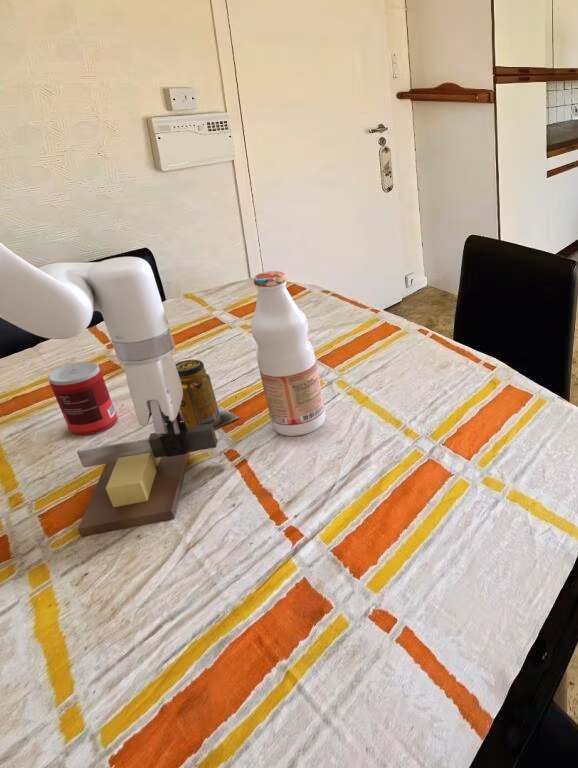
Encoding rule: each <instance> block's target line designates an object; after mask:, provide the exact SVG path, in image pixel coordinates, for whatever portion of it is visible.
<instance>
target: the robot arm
mask: <svg viewBox="0 0 578 768" xmlns="http://www.w3.org/2000/svg"><path fill="white" fill-rule="evenodd" d="M94 312H99V313H100V314H101V316H102V318H103V321H104V324H105V327H106V329H107V332H108V333H107V334H108V335H109V338H110V341H111V344H112V347H113V350H114V352H115V356H116V358H117V360H118V362H120V363H121V364H123V365H124V366H123V367H124V372H125V378H126V382H127V387H128V391H129V395H130V397H131V401H132V405H133V407H134V411H135V414H136V418H137V421H138V423H139V425H140V426H142V427H145V426H147V425H148V424H149V422H150V420H151V418H152V423H153V428H154V433H156V435H159V437H160V440H161V443H162V446H163V449H164V452H165V455H166V456H167V457H171V456H177V455H182V454H187V453H188V447H187V444H186V440H185V437H184V434H183V431H182V430H181V431H180V430H179V429H181V428H187V427H186V424H185V421H183V414H182V411H181V408H180V405H181V401H182V398H183V389H182V384H181V381H180V377H179V374H178V371H177V368H176V365H175V364H176V362H175V360H174V357H173V353H175V351H176V344H175V341H174V337H173V333H172V330H171V328H170V324H169V321H168V318H167V315H166V311H165V309H164V303H163V302H162V297H161V295H160V291H159V288H158V285H157V282H156V278H155V275H154V272H153V269H152V266H151V265H150V263H149V262H148V261H147V260H146V259H143V258H141V257H137V256H119V257H112V258H108V259H104V260H101V261H96V262H95V261H92V262H91V261H89V262H53V263H48V264H44V265H42V266H40V267H36V266H35V265H33V264H31V263H30V262H28V261H27V260H25V259H23V258H22V257H21V256H19V255H17V254H16V253H15V252H13V251H12V250H10V249H9V248H8V247H6V246H5V245H4V244H3V243H2V242H0V318H1V319H2V320H4V321H6V322H8V323H10V324H12V325H14V326H16V327H17V328H19V329H21V330H23V331H25V332H28V333H30V334H32V335H35V336H38V337H42V338H43V339H44V338H45V339H49V340H67V339H72V338H74V337H76V336H78V335H81V334H82V333H83V332H84V331H85V330H86V329H87V328H88V327H89V325H90V324H91V321H92V319H93V315H94Z"/></svg>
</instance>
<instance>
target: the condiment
mask: <svg viewBox="0 0 578 768" xmlns="http://www.w3.org/2000/svg"><path fill="white" fill-rule="evenodd" d="M175 365H176V368H177V371H178V374H179V377H180V381H181V384H182V389H183V398H182V401H181V405H180V408H181V411H182V414H183V421H182V422H184V421H185V424H186V427H193V426H199V425H205V424H213V427H214V430H217V429H218V428H221V427H222V426H225V425H227V424H229V423H231V422H234V421H235V420H237V419H240V418H241V417H240V416H239V415H236V414H234V413H233V412H231V411H229V410H228V409H227V408H224V407H223V406H221V405H218V402H217V399H216V395H215V391H214V389H213V384H212V381H211V377H210V375H209V374H208V373H207V370H206V368H205V365H204V362H202V361H201V360H199V359H186V360H182V361H179V362H175Z"/></svg>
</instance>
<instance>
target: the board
mask: <svg viewBox="0 0 578 768" xmlns="http://www.w3.org/2000/svg"><path fill="white" fill-rule="evenodd" d="M190 455H191V452H188V453H187V454H182V455H177V456H171V457H167V456H164V457H161V458H160V461H159V464H158V466H157V467H156V470H157V471H156V474H155V478H154V481H153V484H152V487H151V491H150V494H149V497H148V500H147V501H145V502H140V503H134V504H129V505H124V506H118V507H113V505H112V503H111V500H110V498H109V495H108V493H107V490H106V487H107V484H108V482H109V479H110V477H111V475H112V472H113V470H114V467H115V465H116V462H114V463H109V464H104V467H103V470H102V472H101V474H100V477H99V478H98V482H97V483H96V486H95V488H94V491H93V493H92V495H91V497H90V500H89V501H88V504H87V506H86V509H85V511H84V513H83V515H82V517H81V520H80V522H79V525H78V527H77V531H78V532H79V536H80V537H87V536H93V535H97V534H102V533H108V532H112V531H117V530H122V529H127V528H132V527H138V526H142V525H148V524H152V523H158V522H164V521H168V520H174V519H175V517H176V513H177V510H178V509H177V508H178V504H179V500H180V495H181V492H182V487H183V484H184V479H185V474H186V470H187V467H188V462H189V458H190Z"/></svg>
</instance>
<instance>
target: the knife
mask: <svg viewBox="0 0 578 768" xmlns="http://www.w3.org/2000/svg"><path fill="white" fill-rule="evenodd" d="M179 430H180V431H181V430H182V431H183V434H184V437H185V440H186V444H187V447H188V452H190V453H191V452H197V451H203V450H209V449H215V448H217V447H218V438H217V433H216V431H215V429H214V427H213V424H205V425H199V426H193V427H187V428H181V429H179ZM145 453H151V456H154V458H158V457H164V456H166V455H165V452H164V449H163V446H162V443H161V440H160V437H159V435H156V433H155V432H152V433H150V434H149V437H148V438H144V439H138V440H132V441H126V442H120V443H114V444H108V445H102V446H101V445H100V446H96V447H90V448H86V449H85V448H84V449H78V450H76V454H77V456H78V458H79V461H80V464H81V465H82V468H83V469H85V468H91V467H96V466H102V465H106V464H109V463H114V462H117V460H118V458H121V457H127V456H133V455H139V454H145Z"/></svg>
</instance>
